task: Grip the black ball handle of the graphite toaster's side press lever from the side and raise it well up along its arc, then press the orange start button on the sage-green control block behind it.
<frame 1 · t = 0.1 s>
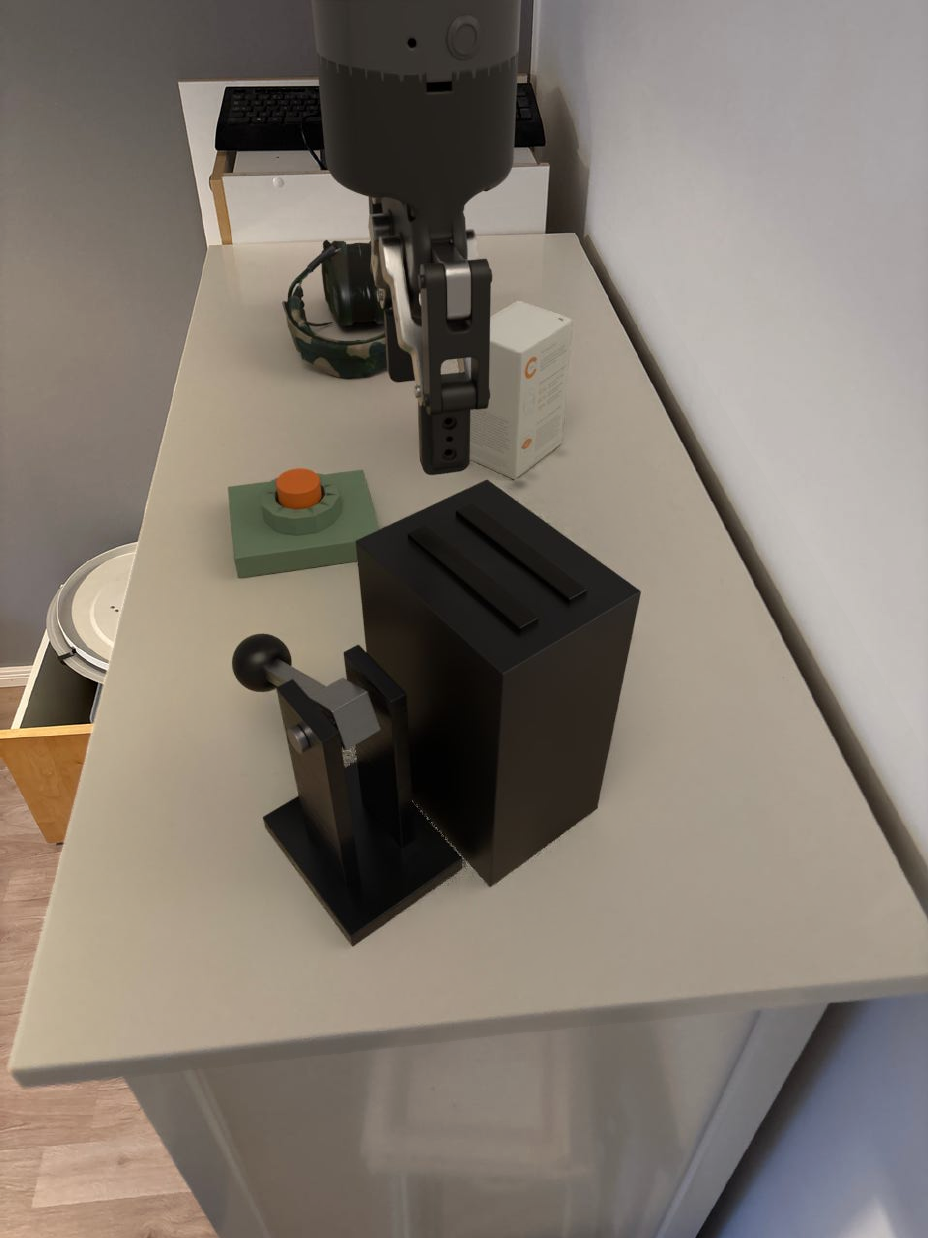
hand: (425, 420, 44), 25 cm above the table, tool pointing down, fingers open, 8 cm apart
headphones: (359, 340, 103), on the table
lever bracket: (362, 847, 55), on the table
toaster lever: (298, 684, 50), point 11 cm above the table, hinge at -25.0°
toaster: (484, 783, 58), on the table
control block: (305, 531, 77), on the table
start button: (299, 489, 74), point 4 cm above the table, slide at 0.1 cm
small box: (512, 452, 87), on the table
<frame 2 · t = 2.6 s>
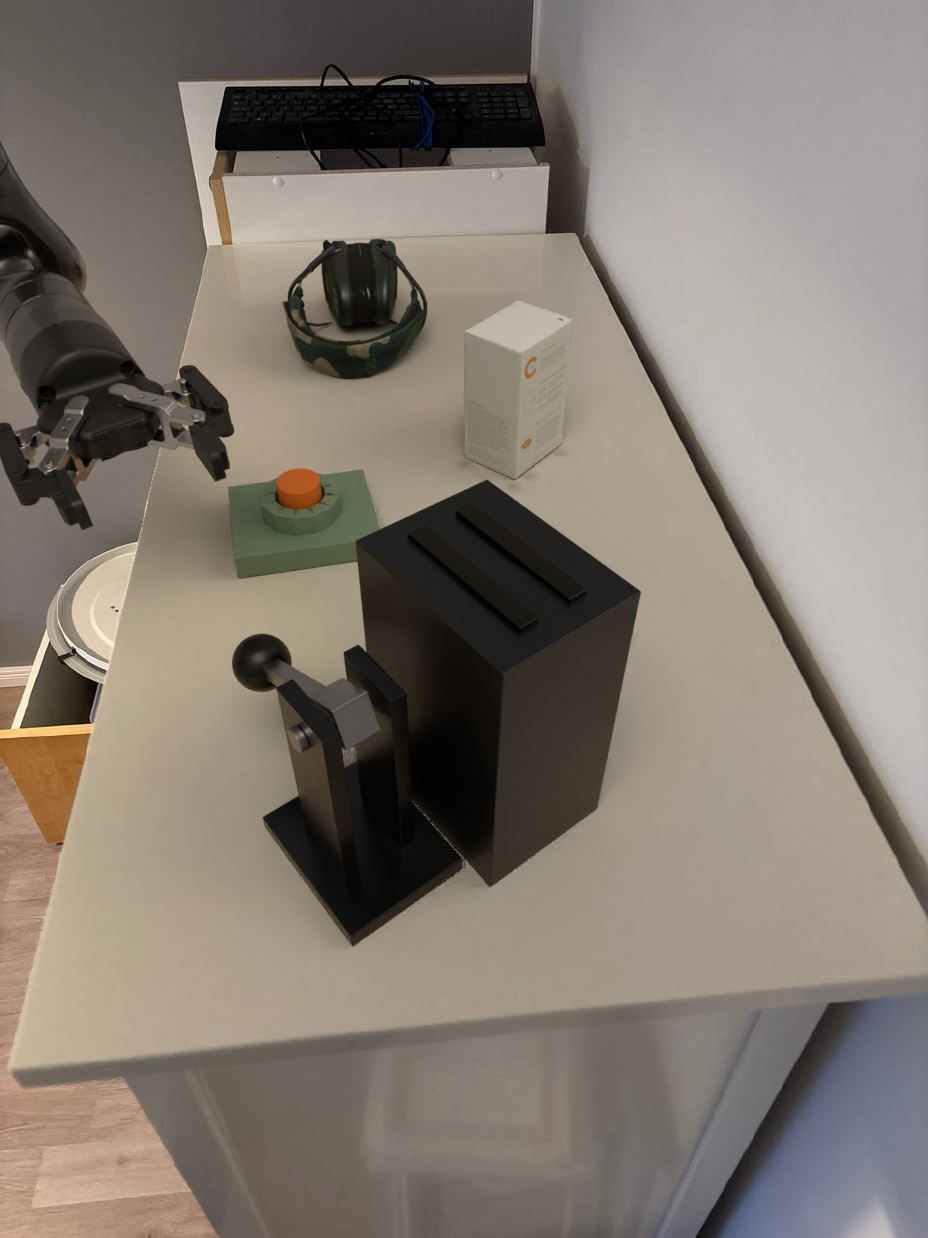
hand: (153, 492, 54), 16 cm above the table, tool horizontal, fingers open, 8 cm apart
nothing on the table moved.
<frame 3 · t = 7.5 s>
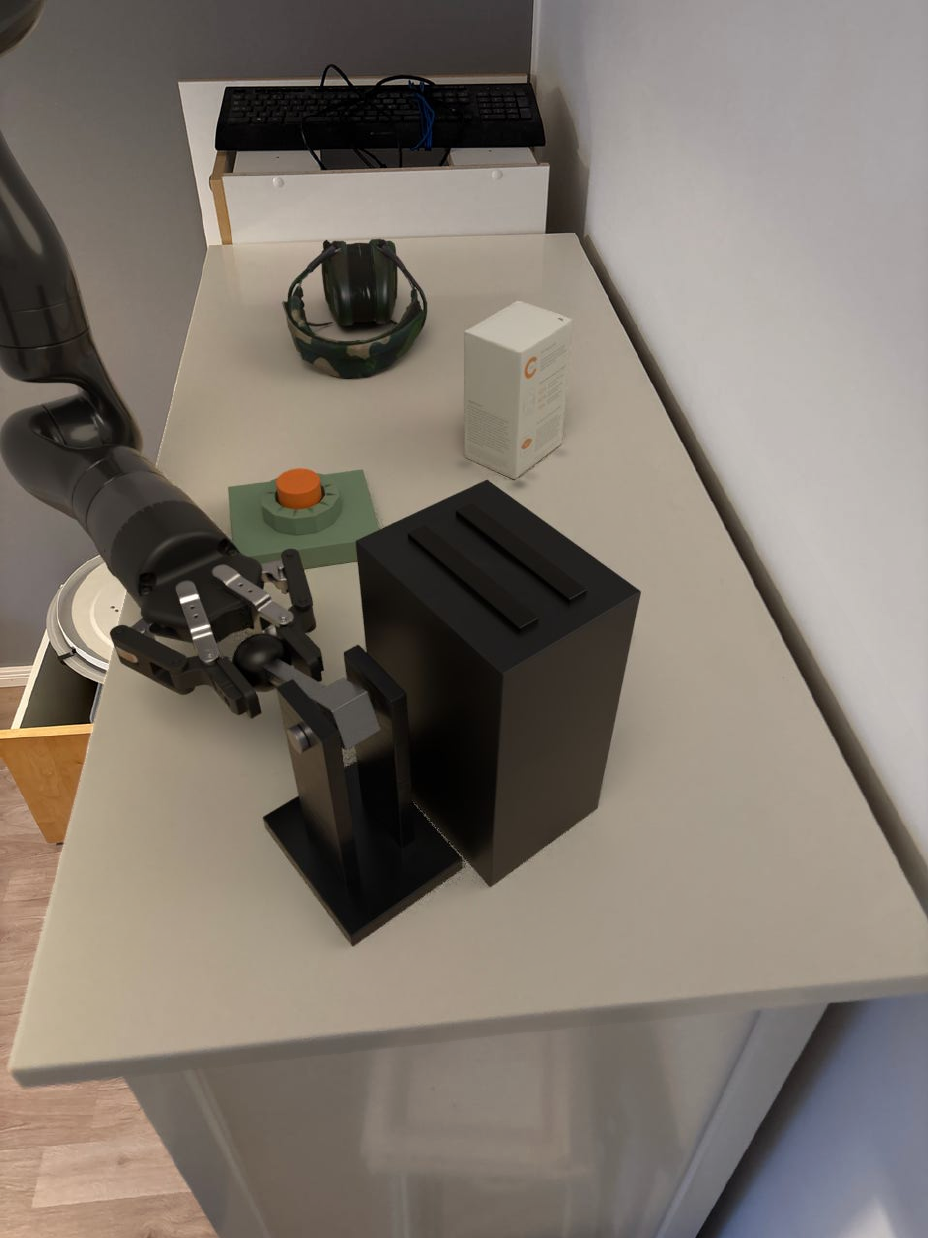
hand: (285, 689, 53), 8 cm above the table, tool horizontal, fingers closed on toaster lever, 3 cm apart
toaster lever: (298, 684, 50), point 11 cm above the table, hinge at -25.0°, touching gripper
everything else where it was.
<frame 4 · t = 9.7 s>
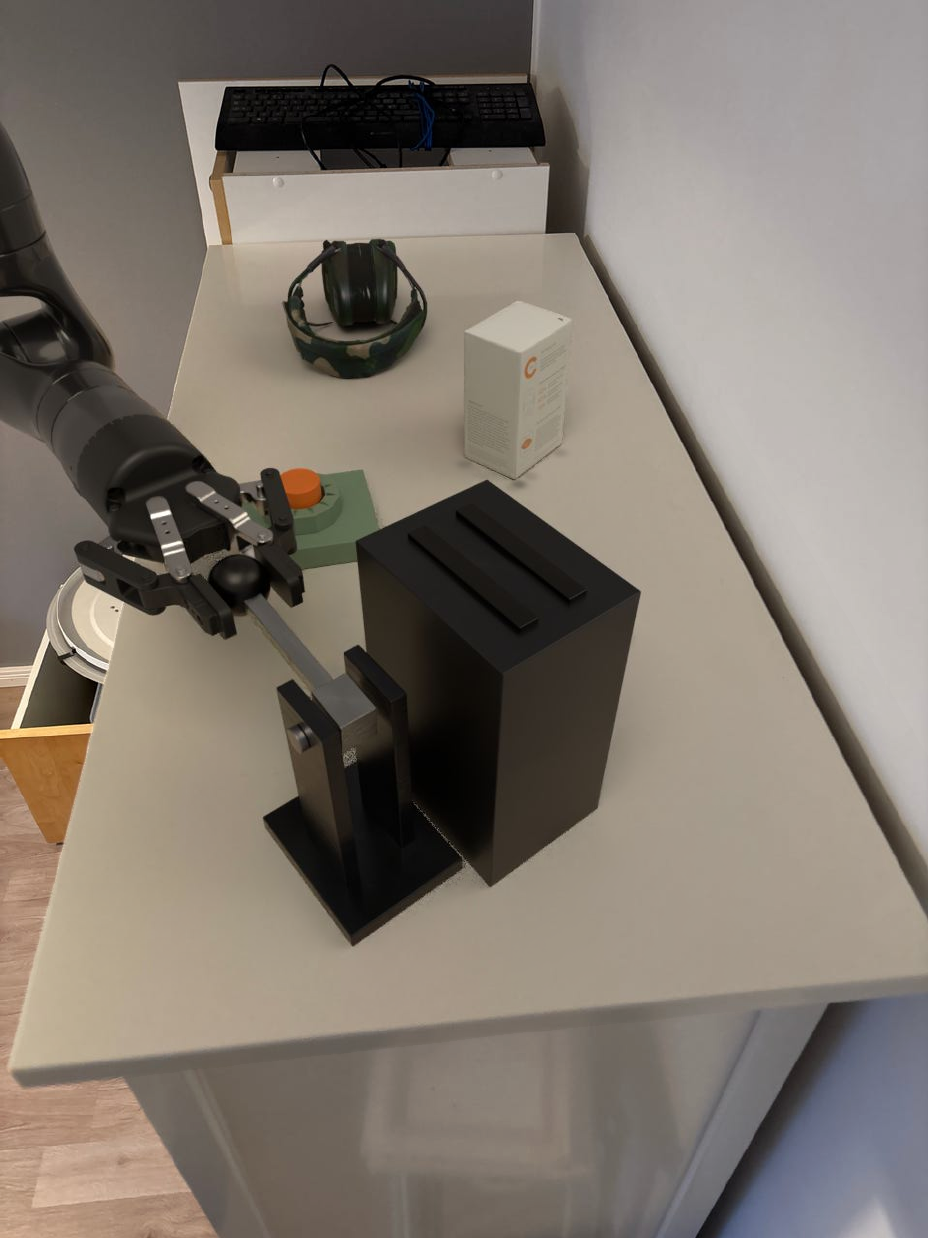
hand: (263, 609, 50), 14 cm above the table, tool horizontal, fingers closed on toaster lever, 3 cm apart
toaster lever: (286, 643, 49), point 14 cm above the table, hinge at 5.6°, touching gripper
everything else where it was.
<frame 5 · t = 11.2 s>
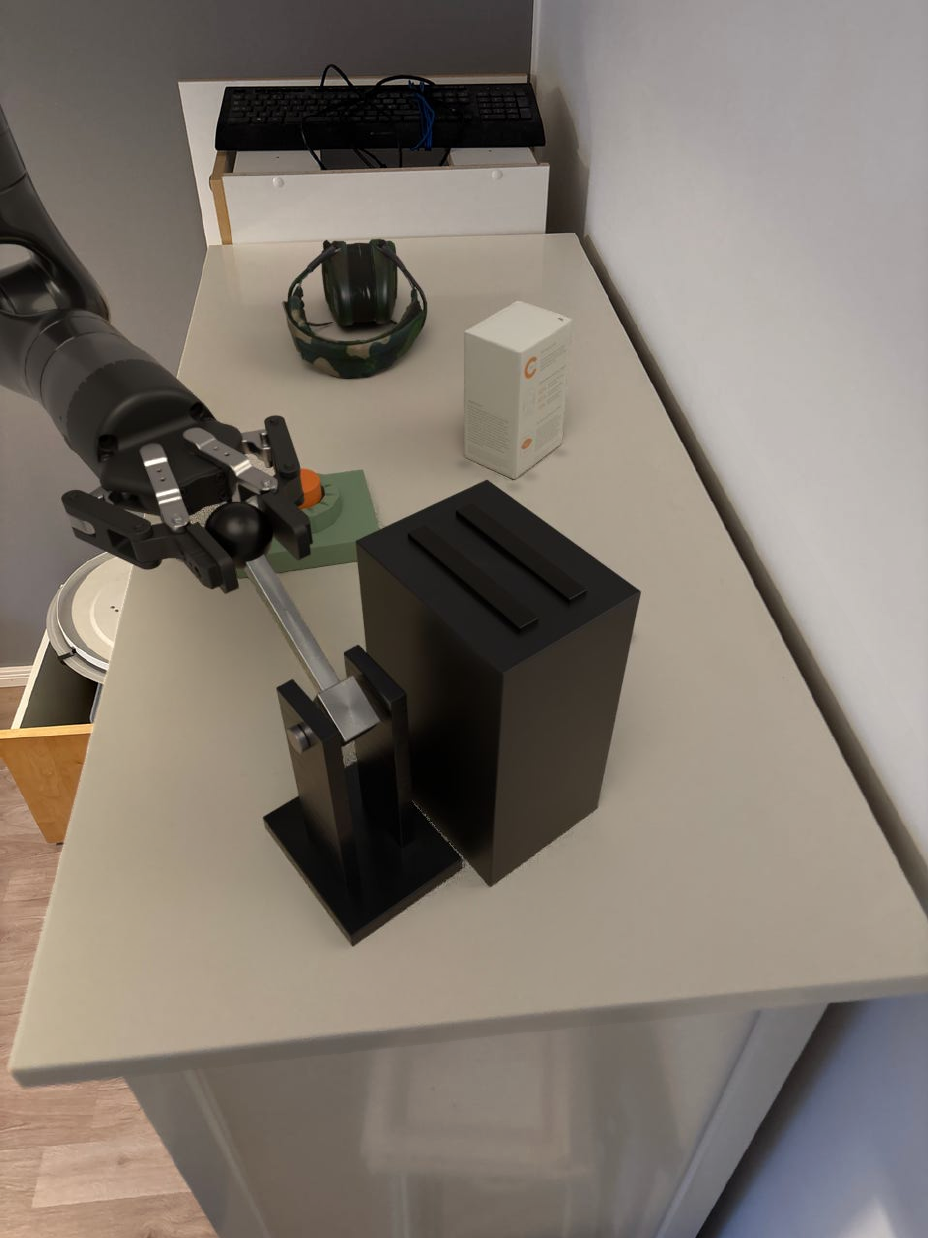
hand: (267, 560, 45), 19 cm above the table, tool horizontal, fingers closed on toaster lever, 3 cm apart
toaster lever: (288, 620, 46), point 16 cm above the table, hinge at 31.6°, touching gripper
everything else where it was.
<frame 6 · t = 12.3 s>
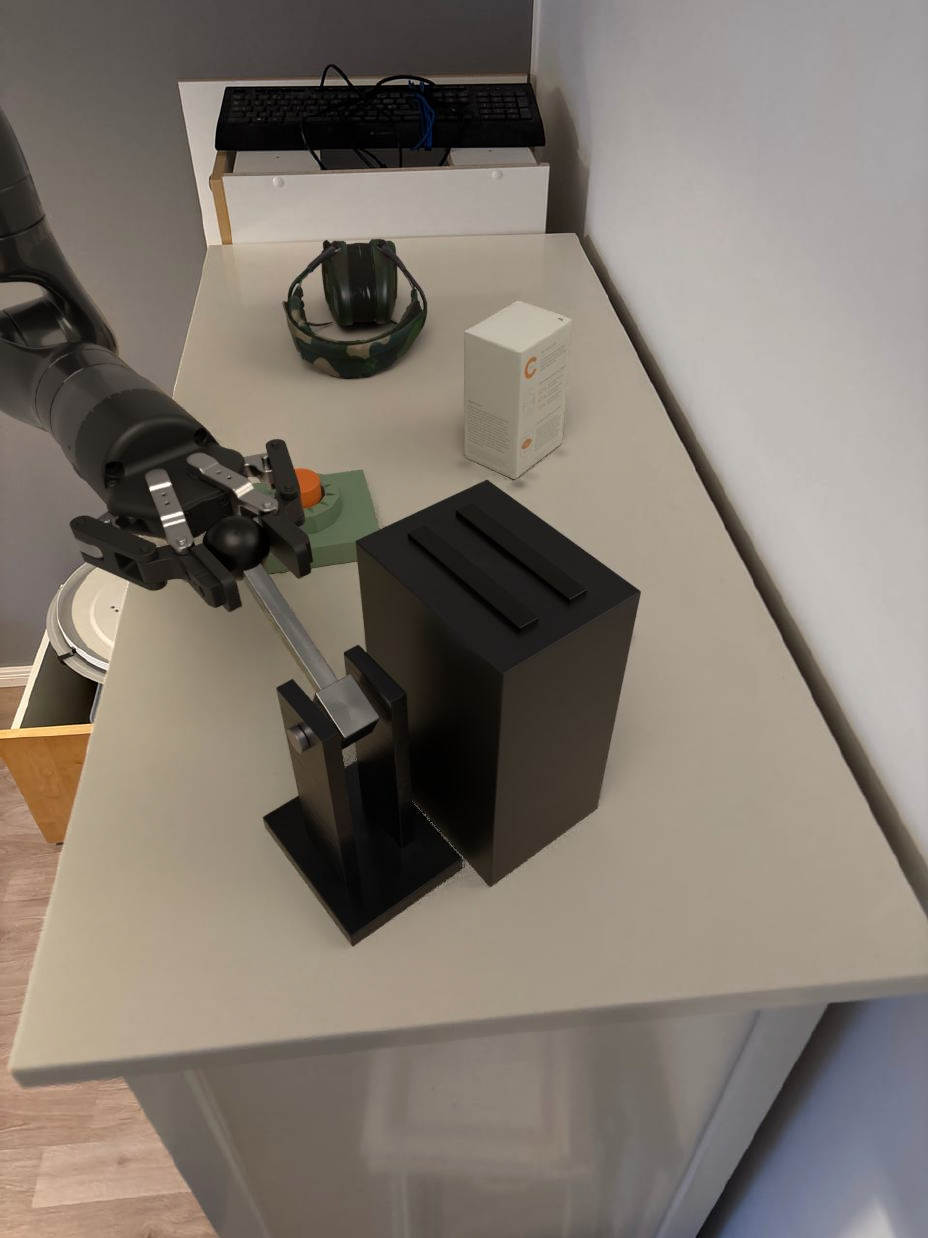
hand: (269, 578, 46), 18 cm above the table, tool horizontal, fingers closed on toaster lever, 3 cm apart
toaster lever: (286, 625, 47), point 15 cm above the table, hinge at 24.0°, touching gripper
everything else where it was.
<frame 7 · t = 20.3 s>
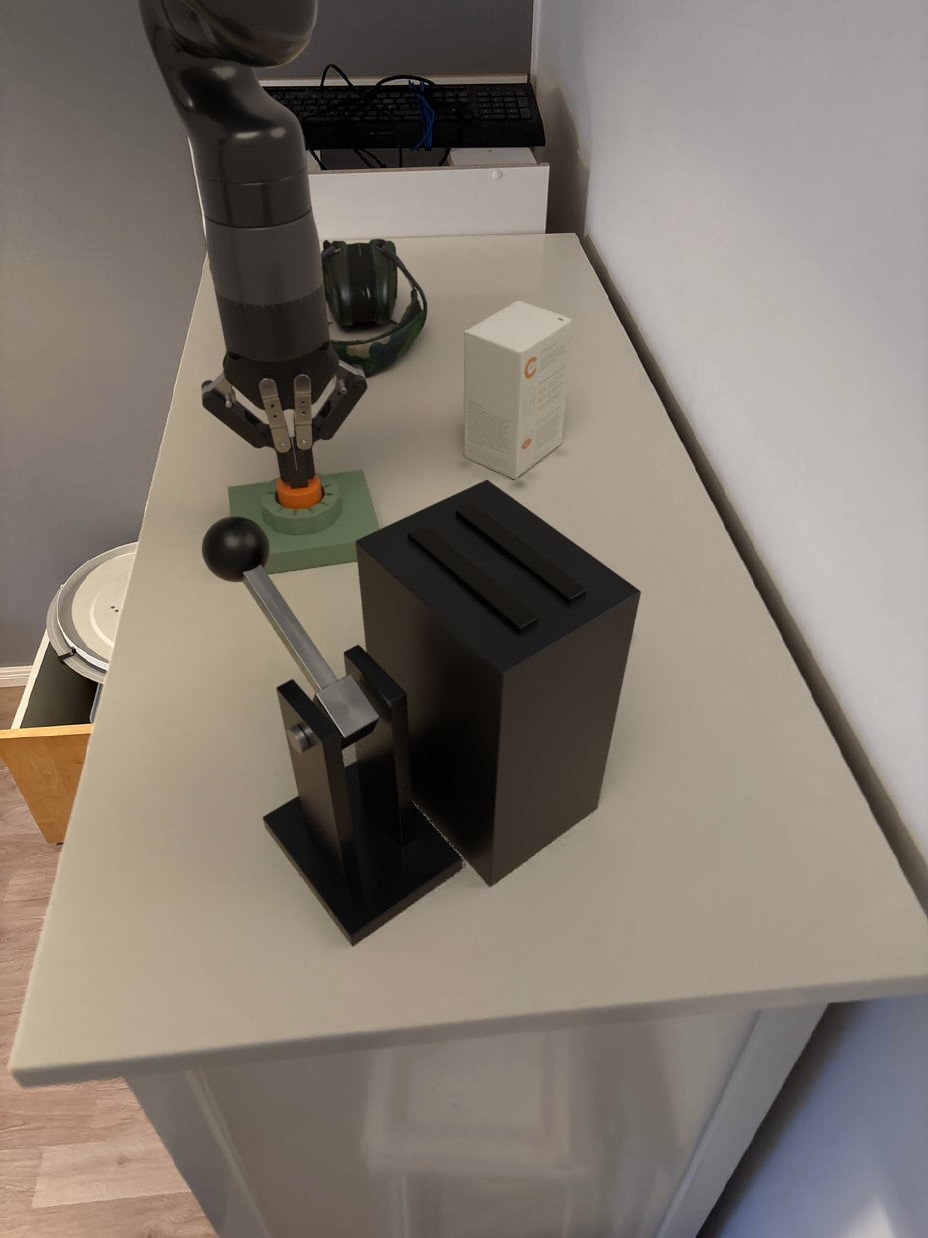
hand: (299, 481, 74), 5 cm above the table, tool pointing down, fingers closed
toaster lever: (286, 626, 47), point 15 cm above the table, hinge at 23.2°
start button: (299, 490, 74), point 4 cm above the table, slide at 0.0 cm, touching gripper
everything else where it was.
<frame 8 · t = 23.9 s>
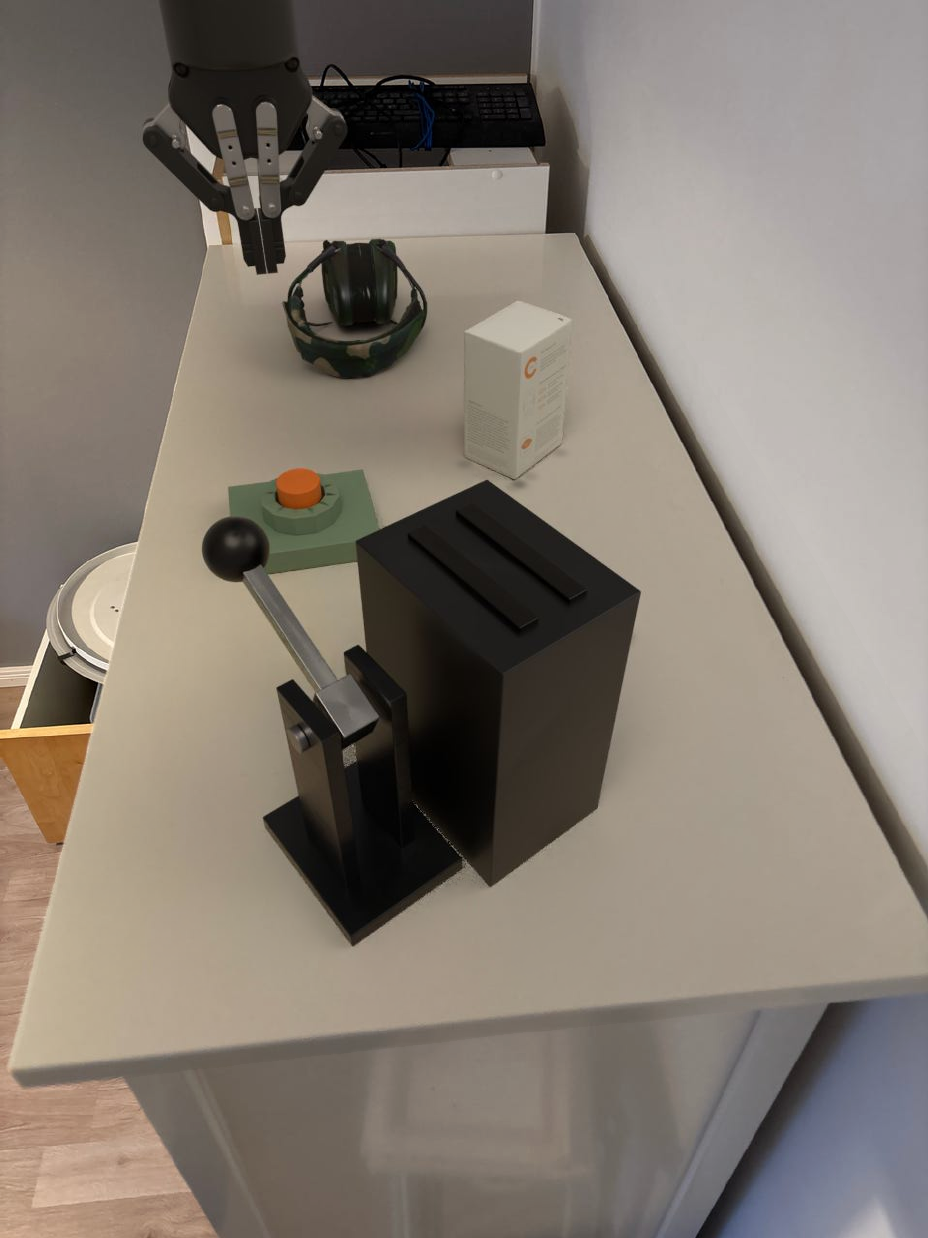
hand: (266, 269, 61), 23 cm above the table, tool pointing down, fingers closed
start button: (299, 489, 74), point 4 cm above the table, slide at 0.1 cm
everything else where it was.
at the end: toaster lever at +23° (first picture: -25°); start button pushed in 1.1 cm at the most during the clip, back to where it started at the end; start button slide at 0.1 cm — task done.
